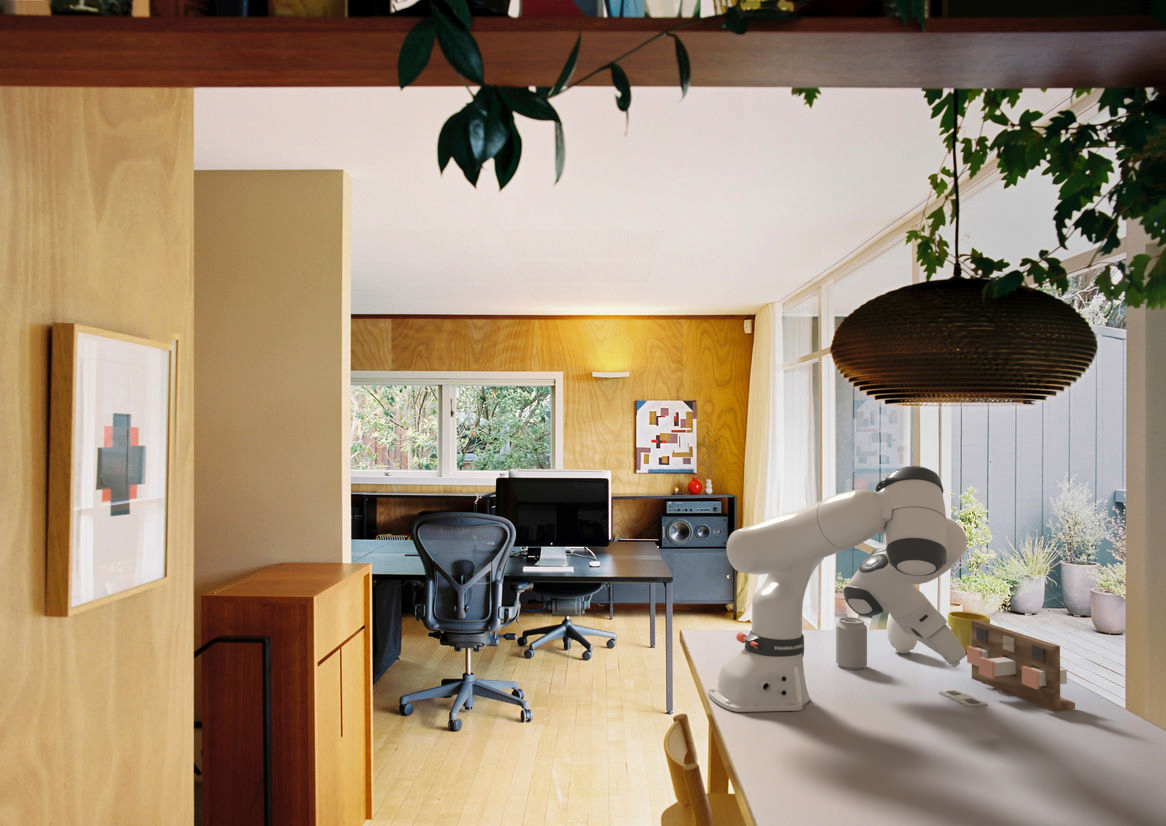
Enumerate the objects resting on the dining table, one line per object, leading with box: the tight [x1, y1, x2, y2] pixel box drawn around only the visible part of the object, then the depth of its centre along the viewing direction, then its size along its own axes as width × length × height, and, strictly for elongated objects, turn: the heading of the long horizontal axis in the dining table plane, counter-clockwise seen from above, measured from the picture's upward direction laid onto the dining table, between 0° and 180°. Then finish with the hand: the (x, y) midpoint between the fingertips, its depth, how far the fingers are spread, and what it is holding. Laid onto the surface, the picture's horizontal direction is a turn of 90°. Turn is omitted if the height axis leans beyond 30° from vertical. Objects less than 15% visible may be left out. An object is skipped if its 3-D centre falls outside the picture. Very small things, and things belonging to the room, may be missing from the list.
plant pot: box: [947, 610, 991, 653], centre depth 209 cm, size 10×10×10 cm
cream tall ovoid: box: [886, 612, 919, 655], centre depth 207 cm, size 8×8×18 cm
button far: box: [966, 646, 989, 667], centre depth 183 cm, size 9×4×4 cm, turn 106°
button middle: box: [979, 657, 1017, 679], centre depth 174 cm, size 9×4×4 cm, turn 106°
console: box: [971, 620, 1076, 713], centre depth 176 cm, size 6×23×14 cm, turn 16°
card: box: [938, 689, 989, 708], centre depth 171 cm, size 5×9×1 cm, turn 16°
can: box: [835, 616, 868, 671], centre depth 195 cm, size 8×8×12 cm
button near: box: [1022, 666, 1068, 689], centre depth 168 cm, size 9×4×4 cm, turn 106°
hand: (954, 663), depth 174 cm, fingers closed
